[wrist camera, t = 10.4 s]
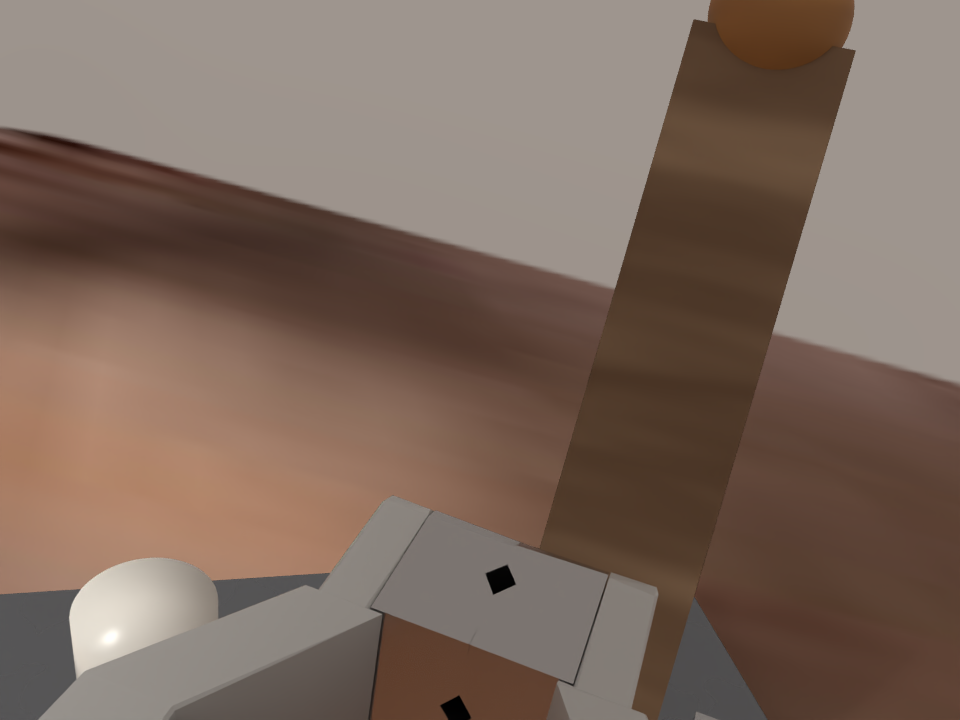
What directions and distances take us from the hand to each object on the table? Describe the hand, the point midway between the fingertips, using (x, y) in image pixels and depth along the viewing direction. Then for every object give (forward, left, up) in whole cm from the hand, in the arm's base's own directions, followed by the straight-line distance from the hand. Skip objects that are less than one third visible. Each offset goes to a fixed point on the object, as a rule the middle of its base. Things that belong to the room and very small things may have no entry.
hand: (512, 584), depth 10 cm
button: (-9, -5, -12) cm, 16 cm away
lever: (-6, +5, -11) cm, 13 cm away
